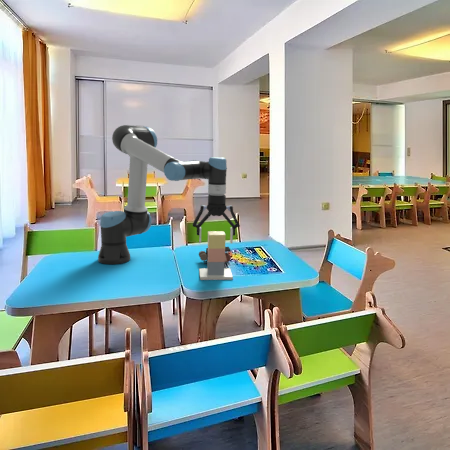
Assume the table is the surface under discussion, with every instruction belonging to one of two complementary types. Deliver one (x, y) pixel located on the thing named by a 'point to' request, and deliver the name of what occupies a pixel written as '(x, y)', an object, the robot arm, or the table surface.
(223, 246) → the brick mustard
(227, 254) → the figurine character
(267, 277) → the table surface
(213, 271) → the grey cube
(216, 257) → the pinkish brown cube
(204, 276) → the build plate
